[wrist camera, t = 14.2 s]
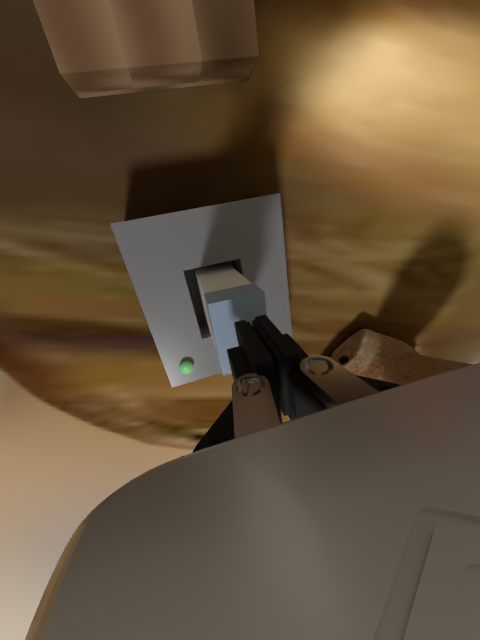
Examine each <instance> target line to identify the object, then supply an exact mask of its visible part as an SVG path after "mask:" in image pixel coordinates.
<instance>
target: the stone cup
mask: <svg viewBox="0 0 480 640" xmlns="http://www.w3.org/2000/svg"><path fill="white" fill-rule="evenodd" d="M329 358H331V359H333V360H335V361H336V362H337V363H339V364H340V365H342V366H343V367H344V368H346V369H347V370H349V371H350V372H352V373H353V374H354V375H358V376H363V377H368V378H372V379H377V380H382V381H387V382H391V383H395V384H399V385H404V384H407V383H411V382H414V381H417V380H420V379H424V378H427V377H430V376H433V375H437V374H440V373H443V372H447V371H450V370H454V369H458V368H461V367H465V366H469V365H472V364H467V363H461V362H456V361H450V360H444V359H439V358H433V357H428V356H424V355H419V353H418V352H417V351H416V350H415V349H413V348H412V347H411V346H410V345H408V344H407V343H405V342H402V341H400V340H398V339H395V338H392V337H389V336H386V335H383V334H380V333H377V332H374V331H372V330H368V329H362V330H360V331H358V332H357V333H355V334H354V335H352V336H351V337H349V338H348V339H346V341H344V342H343V343H342V344H341V345H339V346H338V348H336V349H335V350H334V352H333V353H332V355H331V356H330V357H329Z"/></svg>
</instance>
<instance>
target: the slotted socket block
mask: <svg viewBox="0 0 480 640" xmlns="http://www.w3.org/2000/svg"><path fill="white" fill-rule="evenodd" d="M33 2H34V5H35V7H36V10H37V13H38V15H39V18H40V21H41V24H42V26H43V29H44V32H45V34H46V37H47V40H48V42H49V45H50V48H51V51H52V53H53V56H54V59H55V61H56V64H57V67H58V70H59V72H60V74H61V76H62V77H63V78H64V79H65V81H66V82H67V83H68V84H69V85H70V87H71V88H72V89H73V90H74V92H75V93H76V94H77V95H78V97H79V98H88V97H98V96H108V95H117V94H127V93H136V92H146V91H155V90H165V89H175V88H184V87H194V86H203V85H213V84H222V83H232V82H242V81H247V80H248V78H249V76H250V74H251V72H252V70H253V68H254V66H255V64H256V62H257V60H258V58H259V47H258V36H257V26H256V15H255V5H254V0H33Z"/></svg>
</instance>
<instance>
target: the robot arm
mask: <svg viewBox="0 0 480 640" xmlns="http://www.w3.org/2000/svg"><path fill="white" fill-rule="evenodd" d="M234 325H235V331H236V336H237V341H238V345H239V346H237V347H234V348H230V349H227V354H228V359H229V363H230V367H231V371H232V375H233V378H234V383H233V385H232V401H231V402H230V404H229V405H228V406H227V407H226V409H225V410H224V411H223V413H222V414H221V415H220V416H219V418H218V419H217V420H216V421H215V423H214V424H213V425H212V426H211V428H210V429H209V430H208V432H207V433H206V434H205V435H204V437H203V438H202V439H201V440H200V442H199V443H198V444H197V446H196V447H195V449H194V450H193V453H191V454H188V455H185V456H182V457H180V458H177V459H174V460H172V461H169V462H166V463H164V464H162V465H160V466H157V467H155V468H153V469H151V470H149V471H147V472H145V473H143V474H142V475H140V476H138V477H136V478H135V479H133V480H131V481H130V482H128V483H127V484H125V485H124V486H122V487H121V488H120V489H118V490H117V491H115V492H114V493H112V494H111V495H110V496H108V497H107V498H106V499H105V500H104V501H102V502H101V503H100V504H99V505H98V506H97V507H96V508H95V509H94V510H92V511H91V512H90V514H89V515H88V516H87V517H86V518H85V519H84V520H83V521H82V522H81V524H80V525H79V527H78V528H77V529H76V531H75V532H74V533H73V535H72V537H71V538H70V540H69V542H68V543H67V545H66V547H65V549H64V551H63V553H62V555H61V557H60V559H59V561H58V563H57V565H56V567H55V569H54V571H53V573H52V576H51V578H50V580H49V582H48V585H47V587H46V589H45V591H44V594H43V596H42V599H41V601H40V604H39V606H38V608H37V611H36V613H35V616H34V618H33V621H32V623H31V625H30V628H29V631H28V633H27V636H26V639H25V640H480V363H478V364H473V365H469V366H465V367H461V368H458V369H454V370H450V371H447V372H443V373H440V374H437V375H433V376H430V377H427V378H424V379H420V380H417V381H414V382H411V383H407V384H404V385H399V384H395V383H391V382H387V381H382V380H377V379H372V378H368V377H363V376H358V375H354V374H353V373H352V372H350V371H349V370H347V369H346V368H344V367H343V366H342V365H340V364H339V363H337V362H336V361H335V360H333V359H331V358H329V357H326V356H322V355H313V356H308V355H307V354H306V353H305V352H304V351H303V350H302V348H301V347H300V346H299V345H298V344H297V343H296V342H295V341H294V340H293V339H292V337H291V336H290V335H289V334H287V333H286V334H282V333H281V332H280V331H279V330H278V328H277V327H276V326H275V325H274V324H273V323H272V321H271V320H270V319H269V318H268V317H267V316H266V315H261V316H257V317H255V320H252V325H251V323H250V322H249V321H248V322H246V321H245V320H241V321H237V322H234ZM281 411H282V412H283V414H284V416H286V415H288V416H289V418H290V419H291V420H290V421H287V422H284V423H282V418H281Z"/></svg>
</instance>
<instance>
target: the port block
mask: <svg viewBox="0 0 480 640" xmlns="http://www.w3.org/2000/svg"><path fill="white" fill-rule="evenodd" d="M110 225H111V228H112V230H113V233H114V236H115V238H116V241H117V244H118V246H119V249H120V252H121V254H122V257H123V259H124V262H125V265H126V267H127V270H128V273H129V275H130V278H131V280H132V283H133V286H134V288H135V291H136V294H137V296H138V299H139V302H140V304H141V307H142V309H143V312H144V315H145V317H146V320H147V323H148V325H149V328H150V331H151V333H152V336H153V338H154V341H155V344H156V346H157V349H158V352H159V354H160V357H161V360H162V362H163V365H164V367H165V370H166V373H167V375H168V378H169V381H170V383H171V386H172V387H175V386H178V385H182V384H185V383H188V382H192V381H195V380H199V379H202V378H206V377H209V376H212V375H216V374H219V373H222V371H221V368H220V365H219V361H218V358H217V353H216V349H215V346H214V343H213V340H212V336H211V333H210V330H209V327H208V324H207V320H206V317H205V314H204V310H203V306H202V301H201V297H200V292H199V288H198V284H197V279H196V275H195V270H194V269H195V268H199V267H204V266H208V265H213V264H217V263H222V262H226V263H228V264H229V265H230V266H231V267H233V268H234V269H235V270H236V271H238V272H239V273H240V274H241V275H242V276H244V277H245V278H246V279H247V280H249V281H250V282H251V283H254V284H255V285H257V286H258V287H259V288H260V289H262V290H263V291H264V292H265V301H266V311H267V317H268V318H269V319H270V320H271V321H272V323H273V324H274V325H275V326H276V327H277V328H278V330H279V331H280V332H281V333H282V334H286V333H287V334H289V335H290V336H291V337H292V328H291V316H290V304H289V292H288V280H287V269H286V257H285V245H284V233H283V221H282V209H281V197H280V193H277V194H271V195H266V196H260V197H255V198H249V199H244V200H239V201H233V202H228V203H222V204H217V205H211V206H206V207H200V208H195V209H189V210H184V211H178V212H173V213H167V214H162V215H156V216H151V217H145V218H140V219H134V220H129V221H123V222H118V223H112V224H110Z"/></svg>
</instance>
